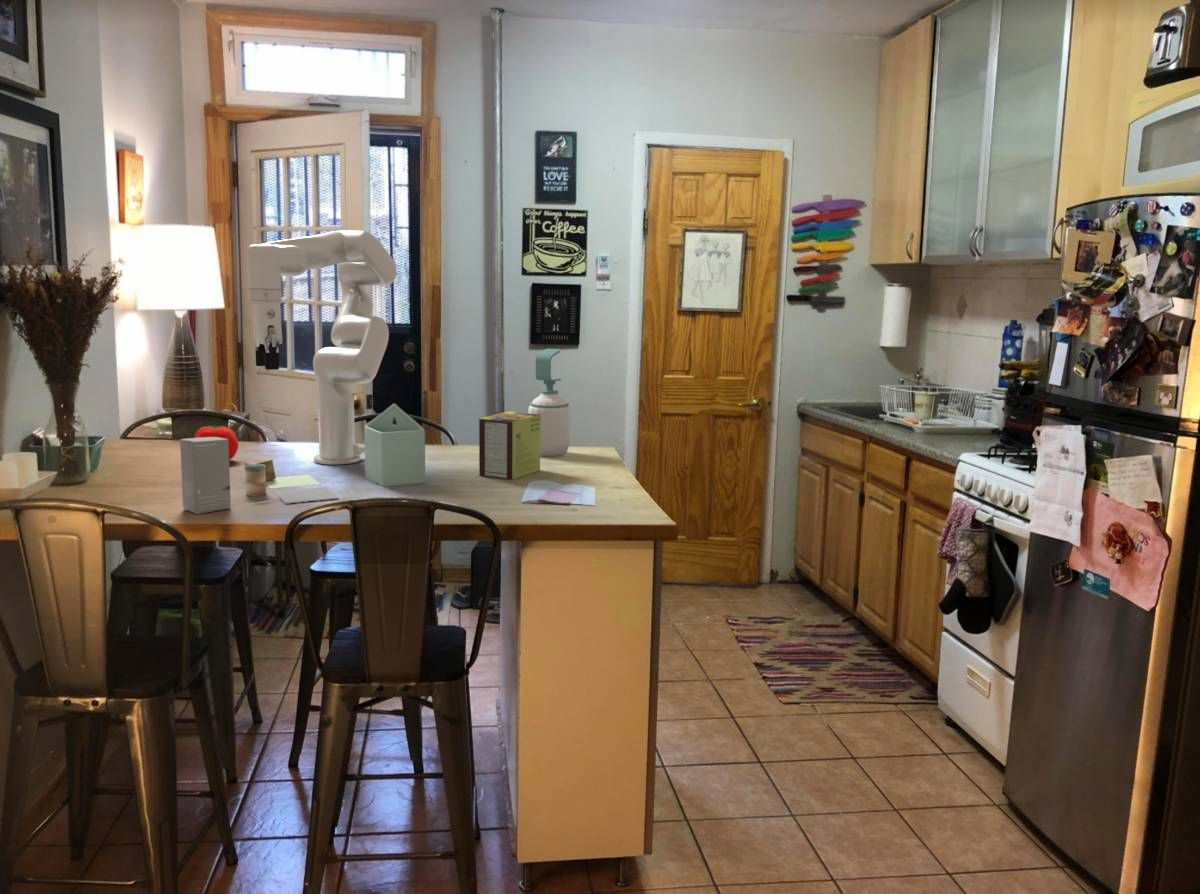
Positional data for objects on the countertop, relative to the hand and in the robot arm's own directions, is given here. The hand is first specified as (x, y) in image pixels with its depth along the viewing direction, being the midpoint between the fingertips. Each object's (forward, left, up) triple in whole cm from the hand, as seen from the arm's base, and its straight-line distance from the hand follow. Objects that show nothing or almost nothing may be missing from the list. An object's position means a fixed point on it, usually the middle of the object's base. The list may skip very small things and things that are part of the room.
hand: (267, 367), depth 230 cm
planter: (-26, +13, -29) cm, 41 cm away
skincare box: (+18, +22, -29) cm, 41 cm away
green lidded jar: (+6, +13, -29) cm, 32 cm away
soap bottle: (-81, -5, -29) cm, 86 cm away
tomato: (+8, -31, -29) cm, 43 cm away
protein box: (-59, +14, -29) cm, 67 cm away
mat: (-4, +3, -29) cm, 29 cm away
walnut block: (+2, -1, -28) cm, 28 cm away
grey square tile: (-4, +19, -29) cm, 35 cm away
